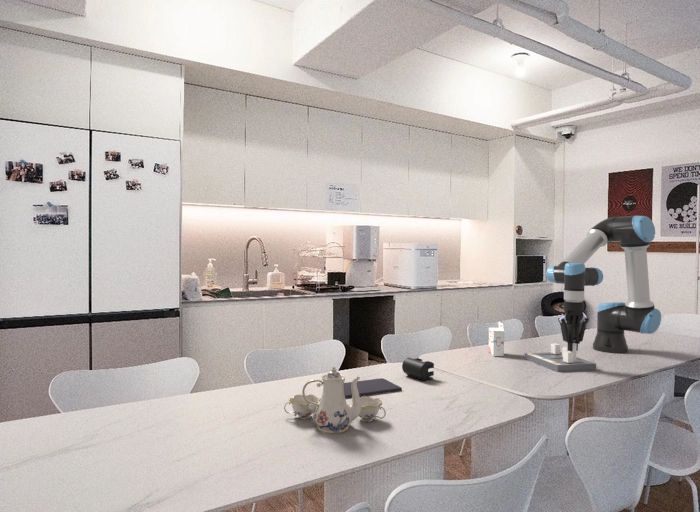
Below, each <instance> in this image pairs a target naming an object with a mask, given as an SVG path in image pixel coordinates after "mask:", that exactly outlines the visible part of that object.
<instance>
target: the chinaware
mask: <svg viewBox="0 0 700 512" xmlns="http://www.w3.org/2000/svg"><path fill="white" fill-rule="evenodd" d="M320 377H321V380H320V379H311V380H308V381H306V383H305V384H304V385H303V388H302V390H301V391H302V392H301V394H296V395H293V397H290V398H288V401H287V402H286V403H285V404H284V406H283V409H284V412H285V413H286V414H293V413H294V414H293V416H294V417H296V416H297V415H298V417H299V418H298V419H301V420H308V419H312V420H313V422H314V423H315V425H316V429H317V430H318V431H319V432H321V433H324V434H340V433H345V432H347V431H348V430H349V425H351V424H352V422H354V421H355V420H357V418H358V417H359V418H361V419H360V421H362V422H363V423H365V422H366V423H367V422H369V423H371V422H372V421H373V420H374V421H377V419H384V418H385V417H386V413H387V412H386V409H385V408H384V407H383V406H382V405H383V402H382V399H381V398H378V397H376V398H372V397H371V396H361V397H360V396H359V392H358V389H357V381H360V378H361V377H360V376H356V377H355V378H353V379H352V381H351V382H352V384H351V390H352V398H351V401H352V402H351V404H348V403H347V400H346V399H347V398H346V399H345V395H344V383H345V380H346V378H347V377H346V375H343V374H341V373H340V371H337V369H336V367H335V366H332V368H331V369H330V370H329V371H328V372H327V374H324V375H322V376H320ZM316 382H317V384H316V387H317V388H320V387H321V386H322V394H321V398H320V397H317V396H316V395H315V394H311V393H310V394H305V393H306V392H305V389H306V387H308V385H309V384H311V383H316ZM287 405H289V406H290V405H291V408H292V410H293V411H290V412H289V411H287V410H286V406H287ZM380 410H383V414H384V415H383V416H382V417H381V416H378V414H379V411H380ZM311 415H312V416H311ZM311 417H312V418H311Z"/></svg>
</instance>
